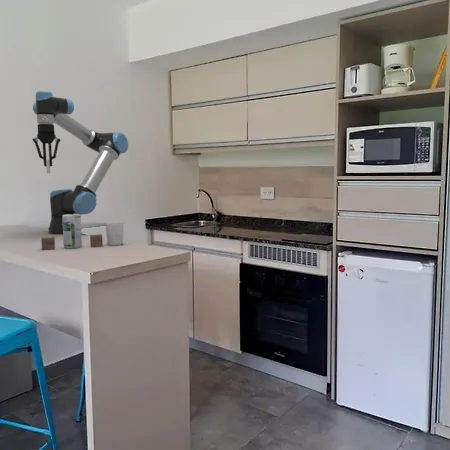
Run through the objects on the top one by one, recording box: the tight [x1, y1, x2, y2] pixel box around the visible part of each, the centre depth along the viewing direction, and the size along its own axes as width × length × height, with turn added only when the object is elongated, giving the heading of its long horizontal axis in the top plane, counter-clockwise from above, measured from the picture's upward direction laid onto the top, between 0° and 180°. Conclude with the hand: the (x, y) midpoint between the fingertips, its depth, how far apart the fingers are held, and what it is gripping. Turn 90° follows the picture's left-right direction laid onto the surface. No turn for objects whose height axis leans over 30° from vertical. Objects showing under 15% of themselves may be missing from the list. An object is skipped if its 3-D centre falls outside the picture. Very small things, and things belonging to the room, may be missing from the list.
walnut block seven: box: [41, 236, 56, 251], centre depth 195 cm, size 5×5×5 cm
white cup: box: [105, 221, 124, 246], centre depth 205 cm, size 8×8×10 cm
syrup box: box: [62, 214, 83, 250], centre depth 198 cm, size 6×6×14 cm
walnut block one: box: [89, 233, 104, 248], centre depth 202 cm, size 5×5×5 cm
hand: (48, 173), depth 221 cm, fingers closed
